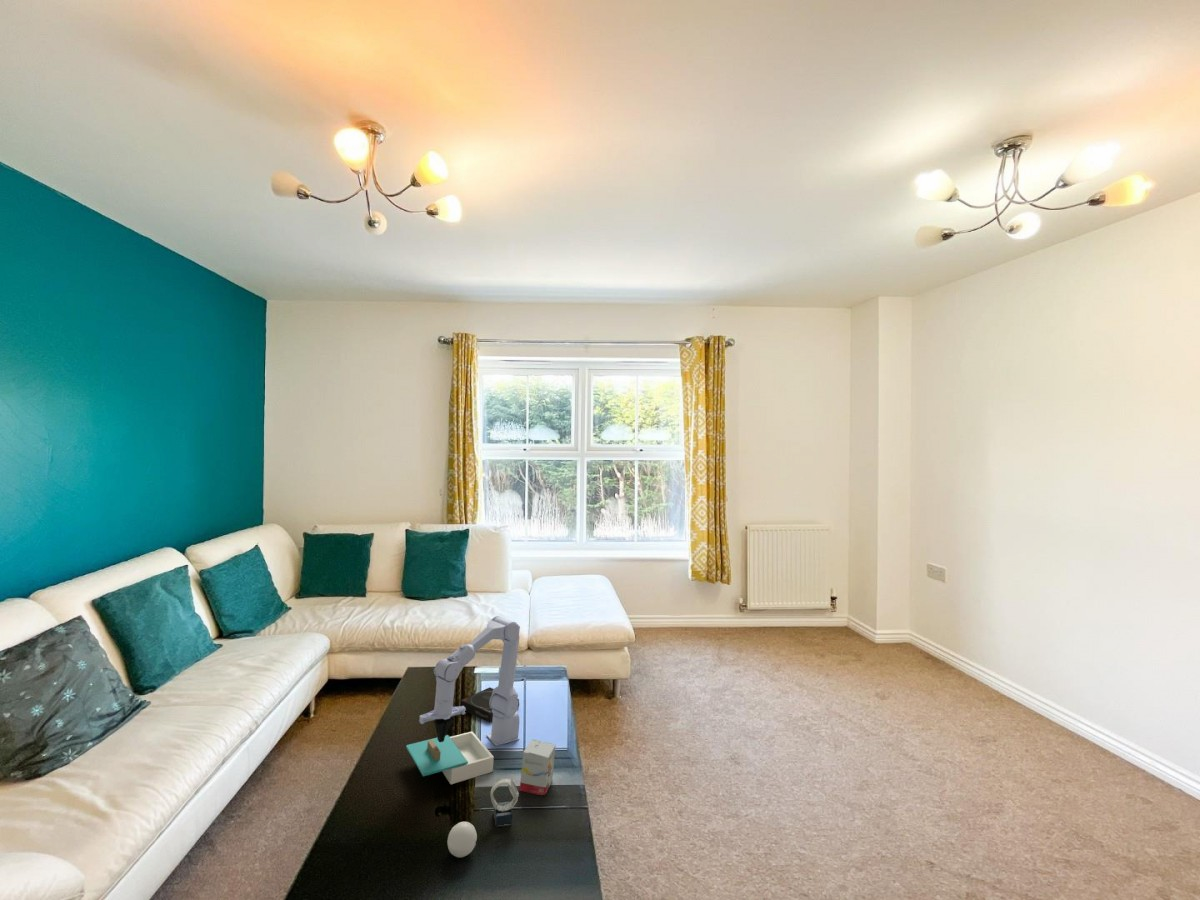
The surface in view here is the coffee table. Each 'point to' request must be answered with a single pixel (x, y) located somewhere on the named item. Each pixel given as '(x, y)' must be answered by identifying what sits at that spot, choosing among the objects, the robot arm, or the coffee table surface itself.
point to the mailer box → (470, 758)
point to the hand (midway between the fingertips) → (440, 740)
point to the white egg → (462, 839)
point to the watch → (504, 803)
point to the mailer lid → (436, 755)
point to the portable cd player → (480, 704)
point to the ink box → (537, 767)
